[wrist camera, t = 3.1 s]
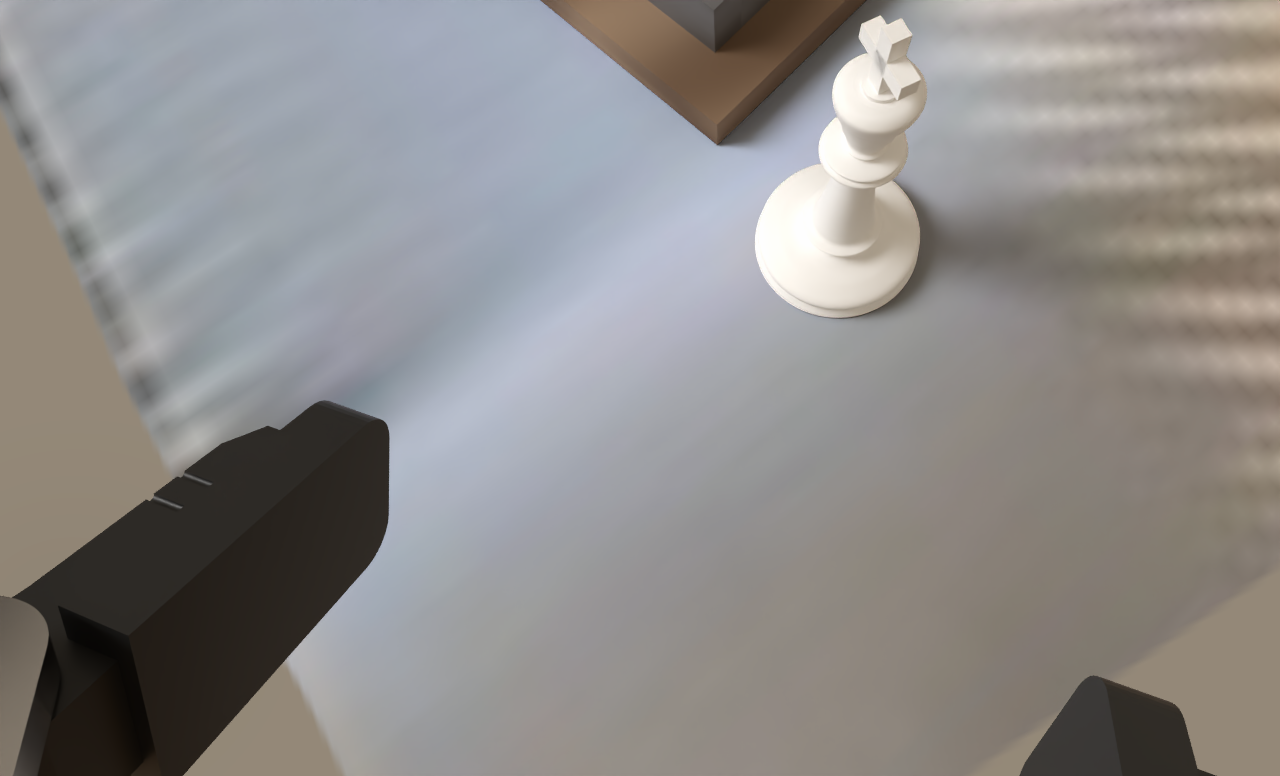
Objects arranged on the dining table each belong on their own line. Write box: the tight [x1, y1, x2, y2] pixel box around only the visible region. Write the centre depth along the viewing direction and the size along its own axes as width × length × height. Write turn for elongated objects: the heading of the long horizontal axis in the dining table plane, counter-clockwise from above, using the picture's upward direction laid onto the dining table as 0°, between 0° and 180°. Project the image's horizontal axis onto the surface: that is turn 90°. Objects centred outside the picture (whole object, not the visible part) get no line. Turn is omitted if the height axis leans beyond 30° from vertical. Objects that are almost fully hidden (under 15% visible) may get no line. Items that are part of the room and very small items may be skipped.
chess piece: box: [755, 15, 927, 318], centre depth 21 cm, size 5×5×10 cm
